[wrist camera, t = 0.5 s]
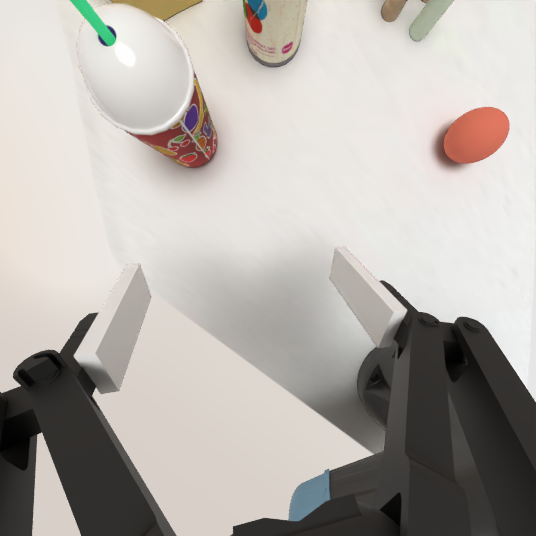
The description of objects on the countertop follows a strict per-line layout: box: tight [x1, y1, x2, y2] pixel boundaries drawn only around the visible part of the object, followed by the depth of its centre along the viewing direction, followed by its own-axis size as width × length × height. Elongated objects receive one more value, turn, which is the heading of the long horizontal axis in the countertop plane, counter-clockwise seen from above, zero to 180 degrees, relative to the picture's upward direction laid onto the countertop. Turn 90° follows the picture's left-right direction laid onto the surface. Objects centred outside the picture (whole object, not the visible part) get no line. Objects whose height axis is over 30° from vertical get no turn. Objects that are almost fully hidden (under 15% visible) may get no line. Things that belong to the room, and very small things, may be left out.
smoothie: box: [70, 0, 217, 167], centre depth 21 cm, size 8×8×20 cm
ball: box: [444, 107, 509, 163], centre depth 29 cm, size 6×6×6 cm
